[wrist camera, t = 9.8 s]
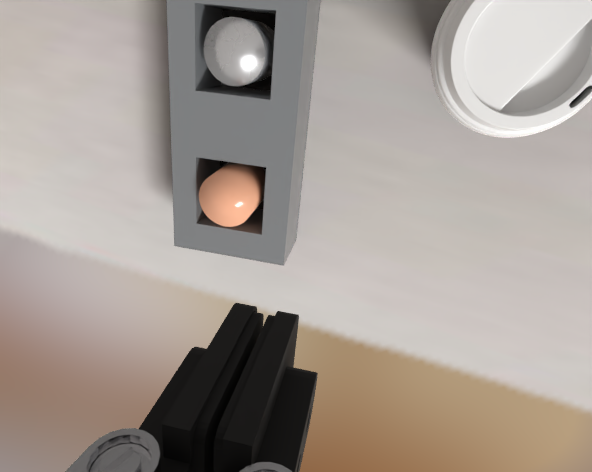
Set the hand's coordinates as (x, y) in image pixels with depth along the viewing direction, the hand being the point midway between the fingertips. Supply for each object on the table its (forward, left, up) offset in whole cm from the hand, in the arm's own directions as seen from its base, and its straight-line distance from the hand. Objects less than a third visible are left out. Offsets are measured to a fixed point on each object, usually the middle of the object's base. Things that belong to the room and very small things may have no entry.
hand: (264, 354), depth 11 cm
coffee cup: (-9, -8, -32) cm, 34 cm away
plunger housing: (+10, 0, -32) cm, 34 cm away
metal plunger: (+10, -6, -32) cm, 34 cm away
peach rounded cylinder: (+10, +6, -30) cm, 33 cm away
